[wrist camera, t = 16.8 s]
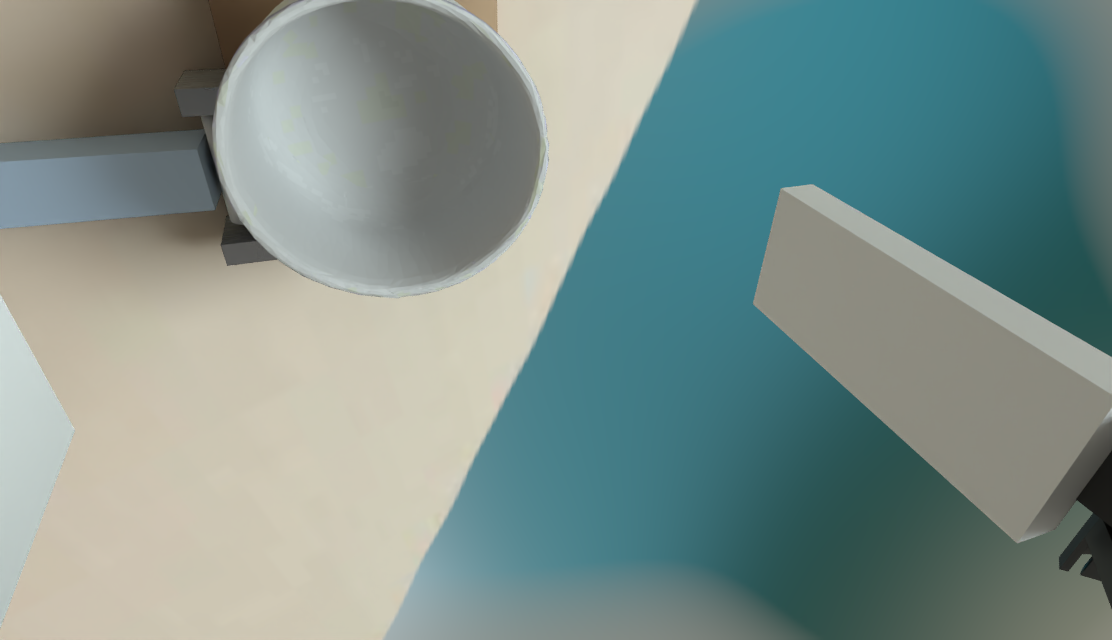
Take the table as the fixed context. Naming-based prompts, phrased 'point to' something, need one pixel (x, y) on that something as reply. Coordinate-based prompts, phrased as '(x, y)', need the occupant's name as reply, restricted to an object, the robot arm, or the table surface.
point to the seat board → (247, 3)
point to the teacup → (380, 142)
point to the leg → (109, 177)
